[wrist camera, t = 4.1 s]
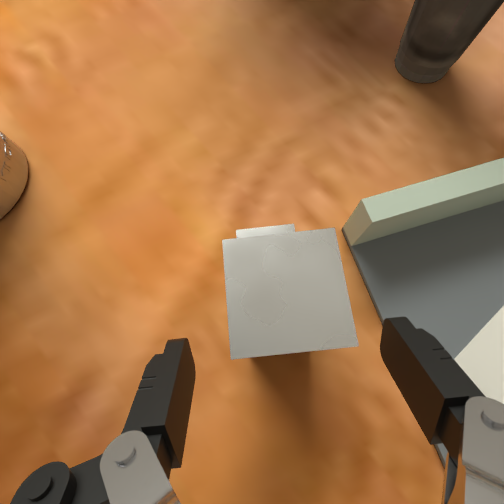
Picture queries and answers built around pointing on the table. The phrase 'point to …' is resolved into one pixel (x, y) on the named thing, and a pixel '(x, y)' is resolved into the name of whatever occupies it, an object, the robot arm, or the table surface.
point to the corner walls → (426, 202)
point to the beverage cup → (440, 35)
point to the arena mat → (446, 288)
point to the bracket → (286, 292)
